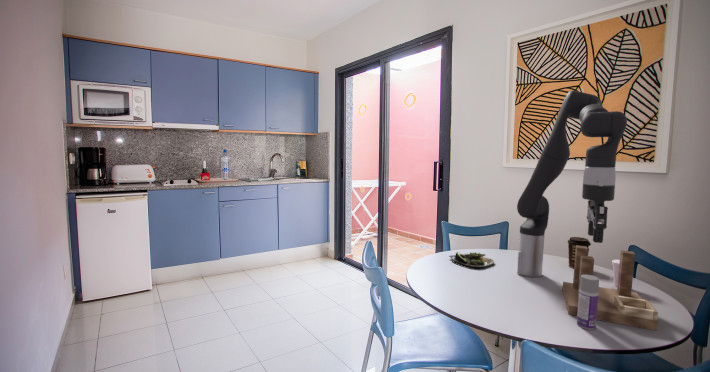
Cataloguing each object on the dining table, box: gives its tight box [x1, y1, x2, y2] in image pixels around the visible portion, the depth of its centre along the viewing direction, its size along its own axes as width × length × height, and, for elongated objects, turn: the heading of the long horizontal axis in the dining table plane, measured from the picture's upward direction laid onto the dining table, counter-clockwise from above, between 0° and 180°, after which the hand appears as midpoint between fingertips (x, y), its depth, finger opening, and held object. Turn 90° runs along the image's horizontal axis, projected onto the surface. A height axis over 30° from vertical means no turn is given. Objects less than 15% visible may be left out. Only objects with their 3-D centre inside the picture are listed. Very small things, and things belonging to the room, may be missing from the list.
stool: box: [561, 245, 659, 332], centre depth 115 cm, size 22×22×18 cm
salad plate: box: [448, 251, 495, 270], centre depth 162 cm, size 19×18×5 cm
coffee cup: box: [567, 236, 592, 269], centre depth 154 cm, size 9×8×13 cm
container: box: [576, 275, 600, 331], centre depth 103 cm, size 5×5×15 cm
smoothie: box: [611, 259, 620, 288], centre depth 133 cm, size 6×6×14 cm
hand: (594, 238), depth 101 cm, fingers open, 8 cm apart
